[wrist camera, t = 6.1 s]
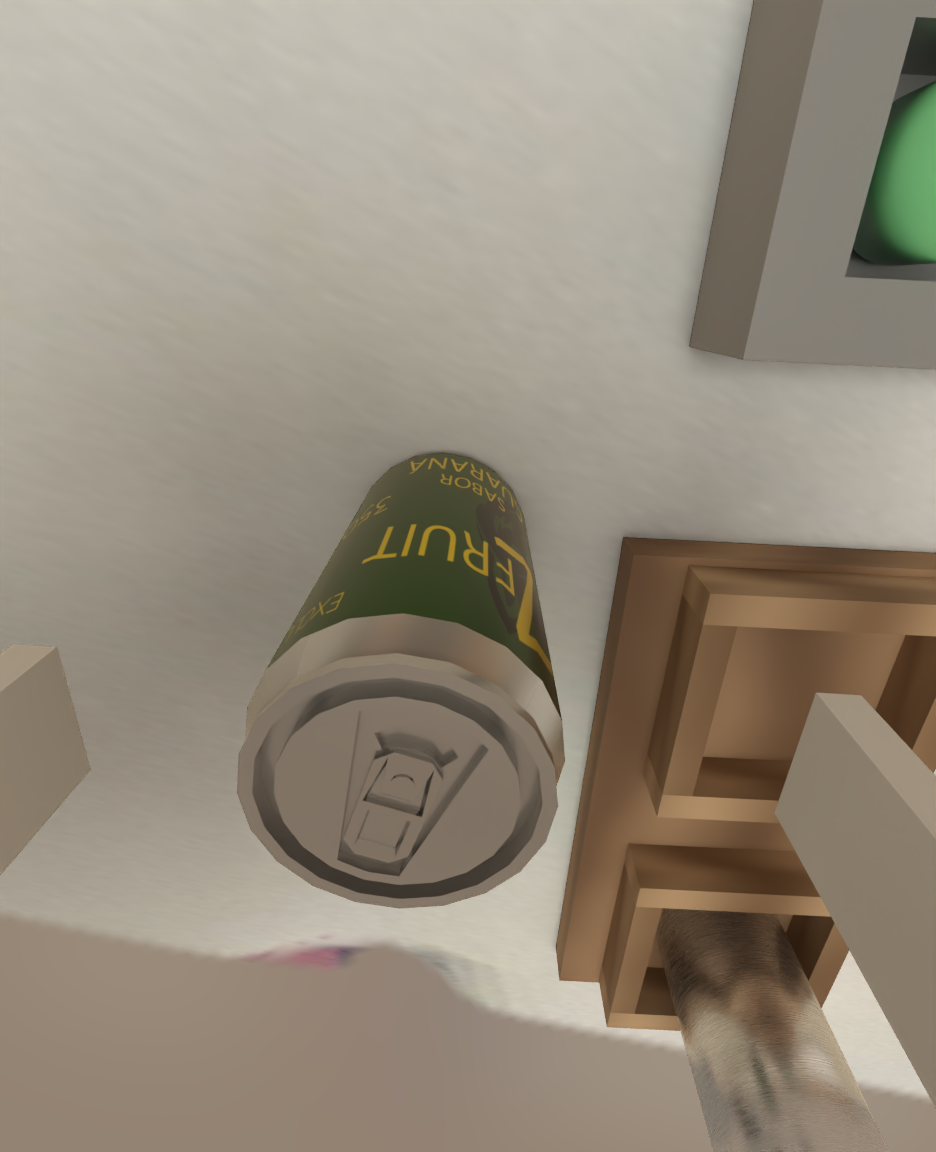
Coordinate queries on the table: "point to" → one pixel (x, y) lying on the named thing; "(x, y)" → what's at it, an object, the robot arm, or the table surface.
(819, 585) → the wooden tray
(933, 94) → the button
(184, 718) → the table surface
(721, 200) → the grey square socket block
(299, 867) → the green drink can
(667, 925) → the cylinder
